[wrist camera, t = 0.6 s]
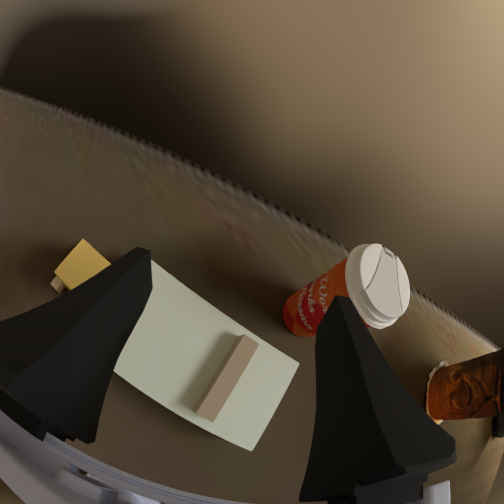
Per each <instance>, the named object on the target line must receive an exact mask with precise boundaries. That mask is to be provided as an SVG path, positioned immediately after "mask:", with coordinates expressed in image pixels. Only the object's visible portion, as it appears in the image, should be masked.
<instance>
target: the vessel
mask: <svg viewBox="0 0 504 504" xmlns="http://www.w3.org/2000/svg"><path fill="white" fill-rule="evenodd" d="M429 377H430V380H429V381H428V383H427V394H426V396H427V400H426V413H427V414H428V415H429V416H430V417H431V418H432V419H433V420H434V421H435V422H436V423H437V424H440V423H441V422H442V421H443V420H461V419H467V418H485V417H490V416H495V415H501V416H503V417H504V348H503V349H501V350H498V351H495V352H492V353H489V354H486V355H483V356H480V357H477V358H474V359H471V360H468V361H463V362H460V363H456V364H453V365H450V366H449V364H448V361H447V360H445V361H442V362H441V363H440V365H439V368H438V367H437V366H436V368H434V369H433V371H432V372H431V373H430V374H429Z"/></svg>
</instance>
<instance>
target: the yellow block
mask: <svg viewBox="0 0 504 504" xmlns="http://www.w3.org/2000/svg"><path fill="white" fill-rule="evenodd" d="M109 265H111V263H110V262H108V261H107V260H106V259H105V258H104V257H103V256H102V255H100V254H99V253H98V252H97V251H96V250H95V249H94V248H93V247H92V246H90V245H89V244H88V243H87V242H86V241H85V240H84V239H82V240H81V241H80V242H79V244H78V245H77V246H76V247H75V248H74V249H73V250H72V251H71V252H70V254H69V255H68V256H67V257H66V258H65V259H64V261H63V262H62V263H61V264H60V265H59V266H58V268H57V269H56V270H55V271H54V273H55V274H56V275H57V276H58V278H59V279H60V280H61V281H62V282H63V284H64V285H65V286H66V287H67V288H68V290H69V291H70V290H72V289H73V288H75V287H77V286H78V285H80V284H81V283H83V282H85V281H86V280H88V279H89V278H91V277H93V276H94V275H96V274H97V273H99V272H100V271H102V270H103V269H105V268H106V267H108V266H109Z"/></svg>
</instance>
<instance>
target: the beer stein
mask: <svg viewBox="0 0 504 504" xmlns="http://www.w3.org/2000/svg"><path fill="white" fill-rule="evenodd" d="M492 434H493V436H494V437H498V438H502V437H504V417H503V416H501V415H495V416H493V421H492Z"/></svg>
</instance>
